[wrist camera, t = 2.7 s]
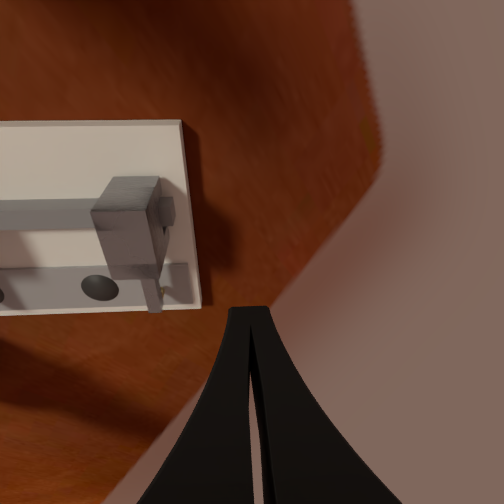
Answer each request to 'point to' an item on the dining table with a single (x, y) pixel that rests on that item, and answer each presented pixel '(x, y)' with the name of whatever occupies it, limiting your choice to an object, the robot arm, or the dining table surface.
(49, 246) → the board
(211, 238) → the dining table surface
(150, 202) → the grey sliding bolt
